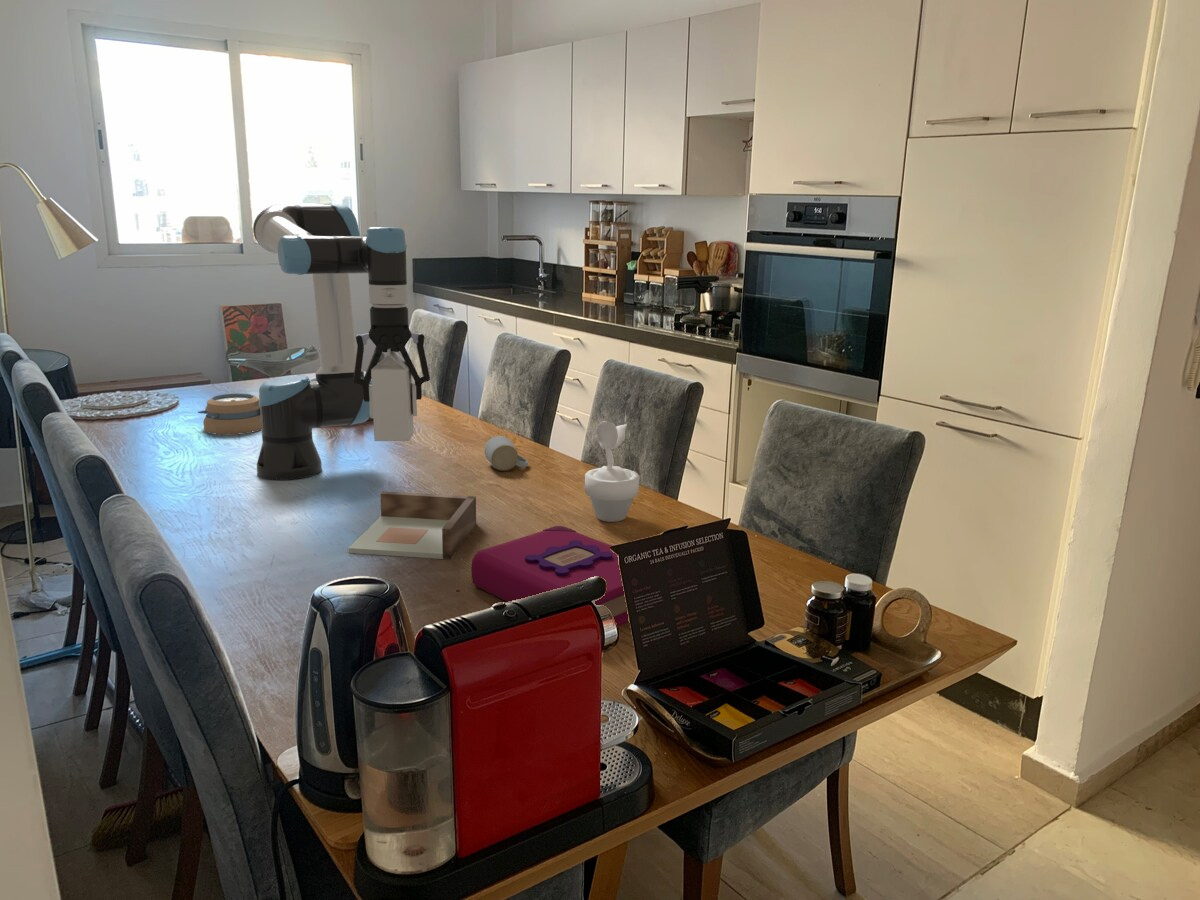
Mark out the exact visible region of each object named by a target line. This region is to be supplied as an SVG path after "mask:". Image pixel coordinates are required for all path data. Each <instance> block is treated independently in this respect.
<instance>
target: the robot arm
mask: <svg viewBox="0 0 1200 900" xmlns="http://www.w3.org/2000/svg"><path fill="white" fill-rule="evenodd" d="M404 230H405V229H403V228H402V227H389V226H387V227H386V226H385V227H383V226H371V227H368V228H367V229H366V234H365V235H361V234H360V228H359V224H358V221H357V218H356V215H355V214H354V212H353V210H352V209H351V208H350V207H349V206H347V205H344V204H336V203H331V202H329V203H319V202H318V203H317V202H316V203H312V202H311V203H310V202H307V203H306V202H303V203H302V202H283V203H278V204H273V205H270V206H269V207H267V208H265V209H263V210H262V211H261V212H260V213H258V214H257V216H256V217H255V219H254V221H253V227H252V233H253V237H254V238H255V240H256V242H257V244H259V246H261V248H263V249H264V250H265V251H267V252H269V253H273V254H277V257H278V263H279V266H280V270H281V271H282V272H284V274H287V275H288V274H289V275H292V274H293V275H297V276H298V275H299V276H300V275H301V276H302V275H312V283H313V293H314V294H313V295H314V303H315V305H314V306H315V314H316V325H317V326H316V327H317V337H318V338H317V339H318V345H319V346H318V347H319V357H320V366H319V368H318V369H317V370H316V372H315V380H310V378H309V377H308V375H304V374H296V375H295V374H294V375H293V374H291V375H282V376H280V377H279V376H278V377H275V378H271V379H269V380H266V381H265V382H262V384H260V386H259V390H258V398H259V405H260V415H261V428H262V430H261V441H262V442H261V443H262V444H261V448H260V451H259V454H258V458H257V462H256V473H257V476H259V477H260V478H263V479H268V480H280V481H284V480H286V481H287V480H288V481H289V480H297V479H304V478H308V477H312V476H315V475H317V474H319V473H320V472H321V471H322V470H323V469H322V459H321V456H320V454H319V452H318V450H317V447H316V444H315V442H314V440H313V429H316V428H317V429H318V428H326V427H336V426H352V425H356V424H362V423H363V424H364V423H365V422H367V421H368V420H369V419H373V400H372V379H371V370H372V369H373V368H374V367H375V366H376V365H377V364H378V361H379V358H380V356H381V354H382V353H388V352H387V350H388V349H389V348H390V350H391V351H393V352H397V353H399V352H400V355H401V357H403V358H404V360H405V362H406V364H407V366H408V368H409V370H410V373H411V375H412V380H413V381H414V383H413V382H412V383H411V393H412V414H413V417H418V408H417V407H418V406H417V405H418V404H417V400H418V401H419V400H422V398H423V395H422V394H423V392H422V385H423V383H426V382H429V381H430V380H431V375H430V370H429V366H428V362H427V357H426V351H425V347H424V344H425V343H424V342H425V335H424V334H423V333H422V332H418V333H417V332H412V331H411V330H410V327H409V308H408V307H407V306H405V305H407V304H409V303H408V284H407V283H408V279H407V278H408V277H407V273H408V271H407V243H406V234H405V231H404ZM350 274H367V275H368V296H369V299H368V300H369V301H368V302H369V304H370V305H372V306H370V308H369V318H370V319H369V321H370V329H369V330H368V333H367V332H366V333H363V334H362V333H361V334H360V333H357V334H355V329H354V318H353V317H354V316H353V306H352V297H351V296H352V293H351V284H350ZM410 339H412V341H413V343H414V344H416V350H417V356H418V358H419V363H420V369H421V372H422V375H419V373H418V372H417V369H416V368H415V365H414V362H413V361H412V359H411V357H410V355H409V353H408V351H407V349H406V347H405V346H406V345H407V344H408V342H409V340H410ZM368 340H370V341H371V342H372V344H374V345H375V348H374V350H373V354H372V356H371V359H370V361H369V364H368V366H367V370H366V372H364V371H365V370H364V369H363V368H362V366H363V360H364V353H365V351H364V350H365V345H367V344H368ZM356 346H357V348H356Z"/></svg>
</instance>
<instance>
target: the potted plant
mask: <svg viewBox="0 0 1200 900" xmlns="http://www.w3.org/2000/svg"><path fill="white" fill-rule="evenodd" d="M627 418H628V417H627V413H625V414H624V419H623V421H624V424H621V425H620V424H619V425H617V426H616V425H615V424H614V423H613V422H611V421H606V420H605V421H604V420H603V421H601V422H600V423H599V424H597V425H596V428H595V434H596V437H597V439H598V441H599V442H598V444H599V446H600V448H601V449H602V450H605V458H606V461H607V465H603V466H602V467H598V468H593V469H590V470H588V471H587V472H585V474H584V493H585V495H587V496H588V497H589V499H590V501H591V504H592V508H593V511H594V514H595V516H596V518H597V519H598V520H600V521H603V522H608V523H617V522H621V521H624V520H625V519H626V517H627V515H628V513H629V511H630V508H631V505H632V502H633V500H634V498H636V497H637V496H638V495H639V492H640V491H639V490H640V488H639V487H640V474H638V473H637V471H634V470H631V469H628V468H622V467H621V466H620V465H619V466H617V465H614V463H615V461H614V455H613V451H612V450H614V449H616V448H618V447H619V446H620V445H621V444H622V443H623V442H625V439H626V429H627V427H628V424H627ZM628 437H629V439H630V437H631V430H629V431H628Z"/></svg>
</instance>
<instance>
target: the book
mask: <svg viewBox="0 0 1200 900" xmlns="http://www.w3.org/2000/svg"><path fill="white" fill-rule="evenodd" d="M611 546H612V544H608V543H605V542H603V541H601V540H598V539H596V538H593V537H590V536H588V535H585V534H582V533H579V532H577V530H574V529H572V528H570V527H566V526H565V525H564V526H562V525H554V526H551V527H549V528H545V529H543V530H542V531H539V532H538V531H537V532H536V533H535V532H534V533H532V534H528V535H525V536H523V537H522V536H521V537H520V538H516V539H513V540H509V541H507V542H503V543H499V544H497V545H493V546H491V547H487V548H484V549H481V550H478V551H477V552H476V553H475V554H474V556H473V558H472V560H471V580H472V584H473V586H475V587H477V588H479V589H481V590H482V591H485V592H487V593H489V594H490V595H493V596H495V597H497V598H499V599H500V600H503V601H506V602H507V601H512V600H516V599H521V598H525V597H528V596H532V595H536V594H539V593H542V592H546V591H550V590H553V589H557V588H561V587H565V586H567V585H571V584H574V583H578V582H581V581H583V580H586V579H588V578H590V577H594V576H599V577H602V578H604V579H605V580H606V583H607V590H606V593H605V596H603V597H602V598H601V599H599V600H597V601H595V604H596V605H604V606H606V607H607V608H608V609H609V610H610V611H611V613H612V615H613V617H614V619H615V622H616V623H617V626H618V627H617V628H619V627H621V626H624V625H625V624H628V623H629V622H628V614H627V607H626V602H625V597H624V591H623V586H622V581H621V575H620V570H619V565H618V557H617V555H616V554H615V553H613V552H612V551H611V550H610V547H611Z"/></svg>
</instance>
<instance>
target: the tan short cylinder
mask: <svg viewBox="0 0 1200 900" xmlns="http://www.w3.org/2000/svg"><path fill="white" fill-rule="evenodd" d="M197 414H204V415H205V414H206V415H205V417H204V419H203V420H202V421H203V430H205V431H204V432H205V433H208V432H210V433H209V434H211V433H216V434H215V435H220V434H234V435H240V434H239V433H245V434H248V433H247V432H251V433H253V432H252V431H256V432H258V431H257V430H259V431H262V430H261V429H262V428H261V415H260V405H259V397H257V396H256V395H254V394H250V393H240V392H239V393H225V394H224V393H223V394H219V395H215V396H212V397H211V398H210V399H207V400H206V406H205V409H204V410H199V411H197Z"/></svg>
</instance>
